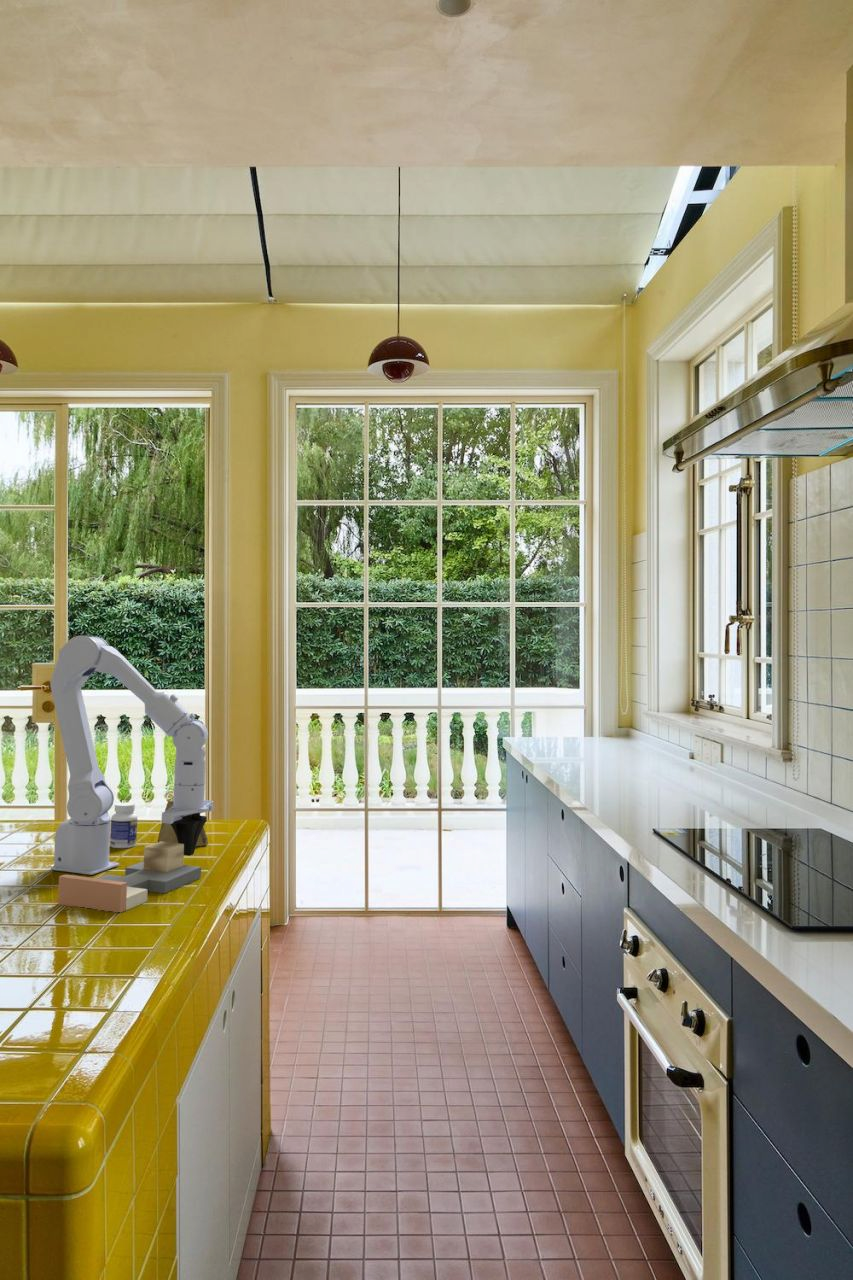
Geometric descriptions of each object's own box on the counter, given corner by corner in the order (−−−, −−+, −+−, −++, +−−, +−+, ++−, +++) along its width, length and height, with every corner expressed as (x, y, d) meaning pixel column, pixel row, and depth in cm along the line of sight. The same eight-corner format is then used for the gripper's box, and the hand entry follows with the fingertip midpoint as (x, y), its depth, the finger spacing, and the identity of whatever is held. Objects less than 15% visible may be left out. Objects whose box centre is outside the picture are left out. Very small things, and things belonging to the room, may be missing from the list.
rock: (213, 830, 186) (168, 823, 185) (215, 804, 181) (168, 796, 180) (201, 869, 177) (153, 862, 176) (202, 843, 172) (153, 835, 171)
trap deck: (58, 904, 137) (59, 876, 137) (145, 870, 159) (146, 847, 159) (119, 913, 134) (120, 884, 134) (200, 877, 156) (201, 853, 156)
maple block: (143, 869, 153) (144, 847, 153) (160, 862, 158) (160, 841, 158) (167, 872, 151) (167, 849, 151) (183, 865, 156) (184, 844, 156)
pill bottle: (134, 848, 176) (135, 806, 176) (107, 849, 175) (109, 806, 176) (138, 843, 182) (139, 801, 182) (112, 843, 181) (114, 801, 181)
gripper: (185, 790, 154) (183, 865, 154) (227, 780, 168) (225, 848, 167) (153, 787, 156) (150, 861, 156) (197, 777, 170) (194, 845, 169)
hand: (187, 854), depth 162 cm, fingers closed
